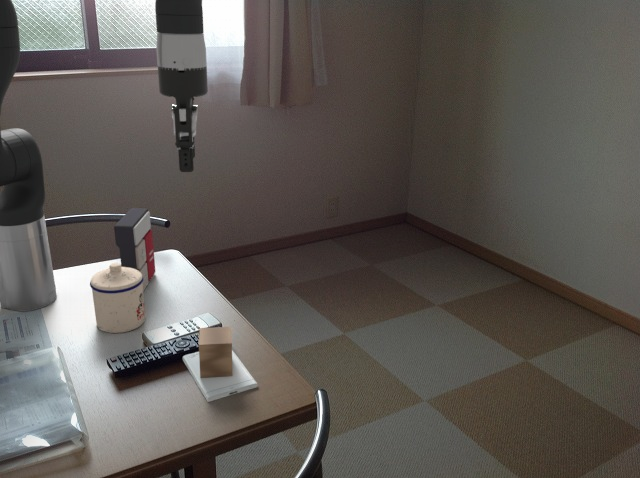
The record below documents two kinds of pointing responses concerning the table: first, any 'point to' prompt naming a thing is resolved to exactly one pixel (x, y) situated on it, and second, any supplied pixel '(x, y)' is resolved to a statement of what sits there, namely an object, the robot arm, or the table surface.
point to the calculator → (136, 242)
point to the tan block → (215, 352)
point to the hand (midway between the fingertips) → (187, 164)
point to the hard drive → (220, 378)
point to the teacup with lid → (118, 299)
